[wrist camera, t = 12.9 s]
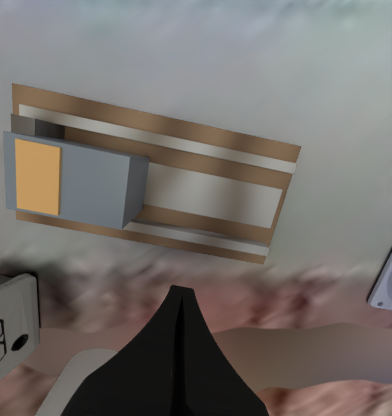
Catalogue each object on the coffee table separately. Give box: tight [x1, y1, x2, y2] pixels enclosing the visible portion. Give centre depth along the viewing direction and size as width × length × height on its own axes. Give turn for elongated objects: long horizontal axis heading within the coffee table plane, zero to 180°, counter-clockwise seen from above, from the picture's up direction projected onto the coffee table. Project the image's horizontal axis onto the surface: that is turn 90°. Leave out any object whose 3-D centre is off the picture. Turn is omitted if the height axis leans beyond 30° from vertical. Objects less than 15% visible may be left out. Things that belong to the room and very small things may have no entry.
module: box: [3, 131, 150, 230], centre depth 14 cm, size 7×4×5 cm, turn 79°
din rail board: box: [11, 83, 301, 264], centre depth 16 cm, size 23×11×4 cm, turn 79°
